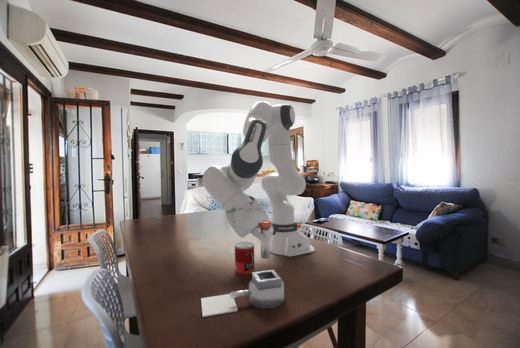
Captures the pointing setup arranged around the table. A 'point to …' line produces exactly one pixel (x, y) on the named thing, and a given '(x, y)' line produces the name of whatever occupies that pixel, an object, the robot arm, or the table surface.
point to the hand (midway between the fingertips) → (267, 238)
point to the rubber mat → (218, 305)
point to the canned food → (244, 258)
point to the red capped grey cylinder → (265, 245)
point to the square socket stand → (264, 290)
